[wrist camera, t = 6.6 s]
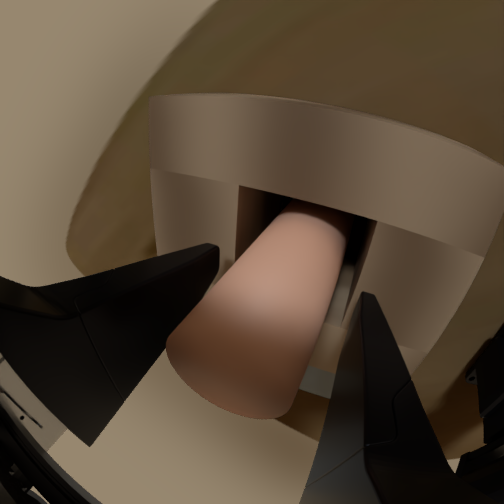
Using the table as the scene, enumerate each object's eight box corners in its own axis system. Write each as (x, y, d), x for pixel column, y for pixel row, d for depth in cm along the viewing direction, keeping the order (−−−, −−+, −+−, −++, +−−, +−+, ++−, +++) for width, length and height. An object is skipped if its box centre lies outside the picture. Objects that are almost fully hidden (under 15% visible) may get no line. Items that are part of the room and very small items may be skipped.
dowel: (361, 189, 12) (307, 368, 4) (347, 245, 14) (279, 431, 6) (299, 174, 13) (156, 306, 5) (291, 229, 15) (174, 384, 7)
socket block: (468, 146, 9) (515, 173, 5) (402, 319, 14) (398, 391, 10) (219, 92, 12) (148, 96, 9) (213, 259, 18) (165, 307, 14)
